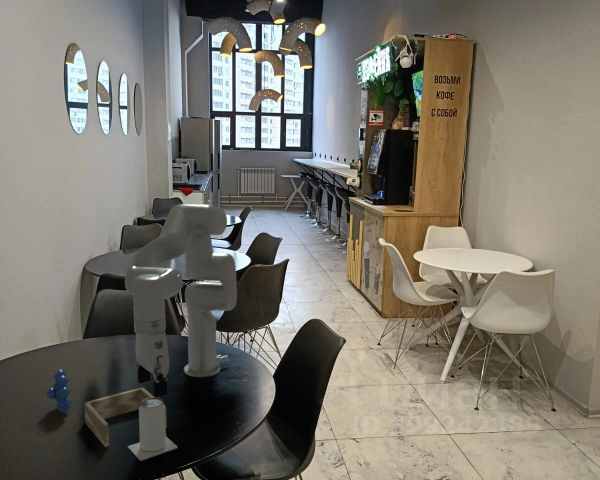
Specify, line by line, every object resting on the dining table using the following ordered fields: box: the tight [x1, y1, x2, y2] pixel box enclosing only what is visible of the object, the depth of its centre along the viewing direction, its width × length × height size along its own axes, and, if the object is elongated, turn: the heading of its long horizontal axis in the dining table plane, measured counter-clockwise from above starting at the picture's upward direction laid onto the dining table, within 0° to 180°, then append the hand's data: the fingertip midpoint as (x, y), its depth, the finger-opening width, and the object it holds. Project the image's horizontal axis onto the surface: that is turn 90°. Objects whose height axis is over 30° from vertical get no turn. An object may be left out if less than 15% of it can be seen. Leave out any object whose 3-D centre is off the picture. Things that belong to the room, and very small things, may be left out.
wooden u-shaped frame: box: [83, 387, 168, 448], centre depth 151 cm, size 17×16×6 cm
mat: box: [127, 436, 178, 462], centre depth 141 cm, size 10×8×1 cm
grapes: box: [45, 369, 72, 415], centre depth 158 cm, size 12×7×12 cm, turn 33°
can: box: [138, 397, 167, 452], centre depth 140 cm, size 6×6×12 cm
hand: (152, 388), depth 139 cm, fingers open, 9 cm apart
